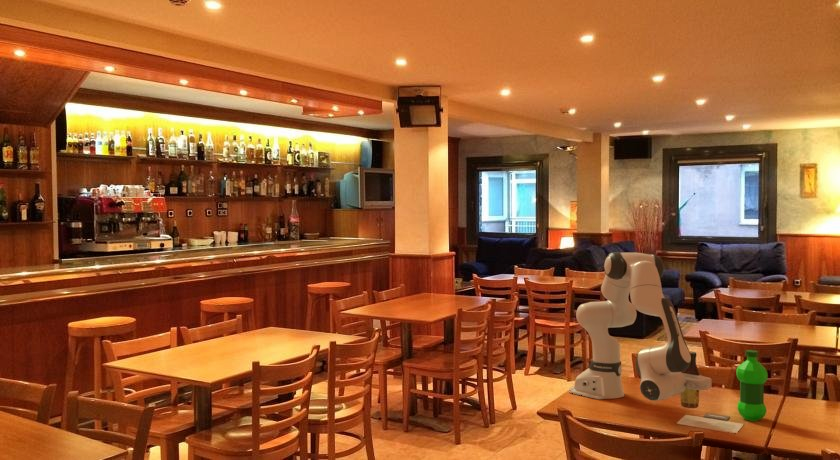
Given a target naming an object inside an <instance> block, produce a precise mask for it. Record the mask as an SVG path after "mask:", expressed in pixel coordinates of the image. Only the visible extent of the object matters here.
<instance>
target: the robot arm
mask: <svg viewBox="0 0 840 460" xmlns="http://www.w3.org/2000/svg"><path fill="white" fill-rule="evenodd" d="M603 266H604V273H605V275H604V278H603V281H602V284H601V286H600V291H601V294H602V295H603V297H604V298H605V299H606V300H603V301H589V302H585V303H581V304H580V305H579V306H578V307H577V310H576V311H575V312H576V313H575V317H576V321H577V323H578V325H579V326H580V327H581V328H583V329H584V330H585V331H586V332H587V334H588V335H589V337H590V340H591V347H592V358H591V359H590V360H588V362H586V365H587V366H588V368H587V369H585V370H584V371H582V372H581V373H580V374H578V375H577V376H576V378H575V380H574V384H573V386H571V387H570V388H569V390H571V391H569V390H568V392H570V393H569V394H572V393H573V395H578V396H581V395H582V396H583V397H587V398H591V399H595V400H605V399H606V400H607V399H619V398H623V397H624V396H625V392H624V388H623V384H622V361H621V343H620V342H619V340H618V339H617V338H616V337H614V336H612V335H610V333H609V329H610V328H623V327H627V326H631V325H633V324H634V323H635V321H636V319H637V311H638V312H640V313H642V314H644V315H648V316H654V317H659V318H660V319H661V320H662V325H663V327H664V330H665V334H666V338H667V342H666V343H664V344H659V345H655V346H649V347H644V348H641V349H639V351H638V353H637V354H636V356H635V363H634V364H635V368H636V371H637V374H638V376H639V377H640V384H639V390H640V393H641V395H643V397H644V398H646V399H647V400H649V401H652V402H659V401H664V400H667V399H670V398H671V397H675V396H678V395H681V393H682V392H684V391H685V389H686V388H688V389H693V390H699V391H706V390H710V389H711V388H712V382H713V381H712V378H710V377H707V376H704V375H702V374H699V375H698V376H697V375H692V374H686V373H681V372H684V371H685V370H686V369H687V368H688V367H689V365H690V363H691V354H690V352H689V351H690V349H689V347H688V345H687V343H686V341H685V337H684V335H683V332H682V331H683V330H682V328H681V324H680V321H679V318H678V315H677V312H676V309H675V307H674V305H673V303H672V302H671V300H670V299H669V298H666V296H665V295H664V293H663V290H662V289H663V287H662V282H661V278H662V277H663V275H664V270H665V266H664V261H663V259H662V258H661V257H660V256H659V255H656V254H653V253H652V254H651V253H643V252H621V251H614V252H610V253H608V254H607V256H606V257H605V260H604V264H603ZM629 296H630V297H629ZM629 298H630V299H629Z"/></svg>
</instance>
